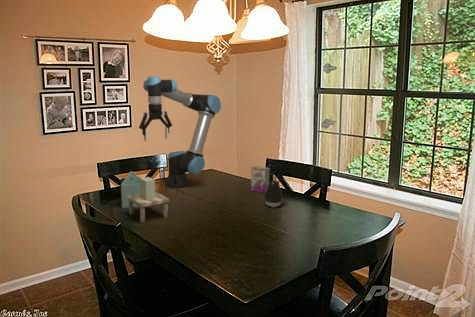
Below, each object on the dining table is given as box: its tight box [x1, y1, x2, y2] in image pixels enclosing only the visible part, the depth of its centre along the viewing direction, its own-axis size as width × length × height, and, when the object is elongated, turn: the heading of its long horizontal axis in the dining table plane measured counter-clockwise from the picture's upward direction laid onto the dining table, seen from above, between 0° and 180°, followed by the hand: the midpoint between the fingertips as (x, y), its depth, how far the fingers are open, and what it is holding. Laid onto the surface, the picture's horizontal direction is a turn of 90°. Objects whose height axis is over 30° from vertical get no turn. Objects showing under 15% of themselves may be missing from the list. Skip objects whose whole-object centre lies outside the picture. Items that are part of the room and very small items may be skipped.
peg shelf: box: [127, 191, 170, 223], centre depth 216 cm, size 16×18×10 cm
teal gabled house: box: [120, 170, 141, 209], centre depth 232 cm, size 16×8×20 cm, turn 150°
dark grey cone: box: [264, 180, 283, 208], centre depth 233 cm, size 10×10×15 cm
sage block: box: [140, 176, 156, 200], centre depth 214 cm, size 5×8×10 cm, turn 36°
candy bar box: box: [250, 165, 270, 194], centre depth 261 cm, size 11×5×16 cm, turn 58°
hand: (156, 139), depth 239 cm, fingers open, 13 cm apart
